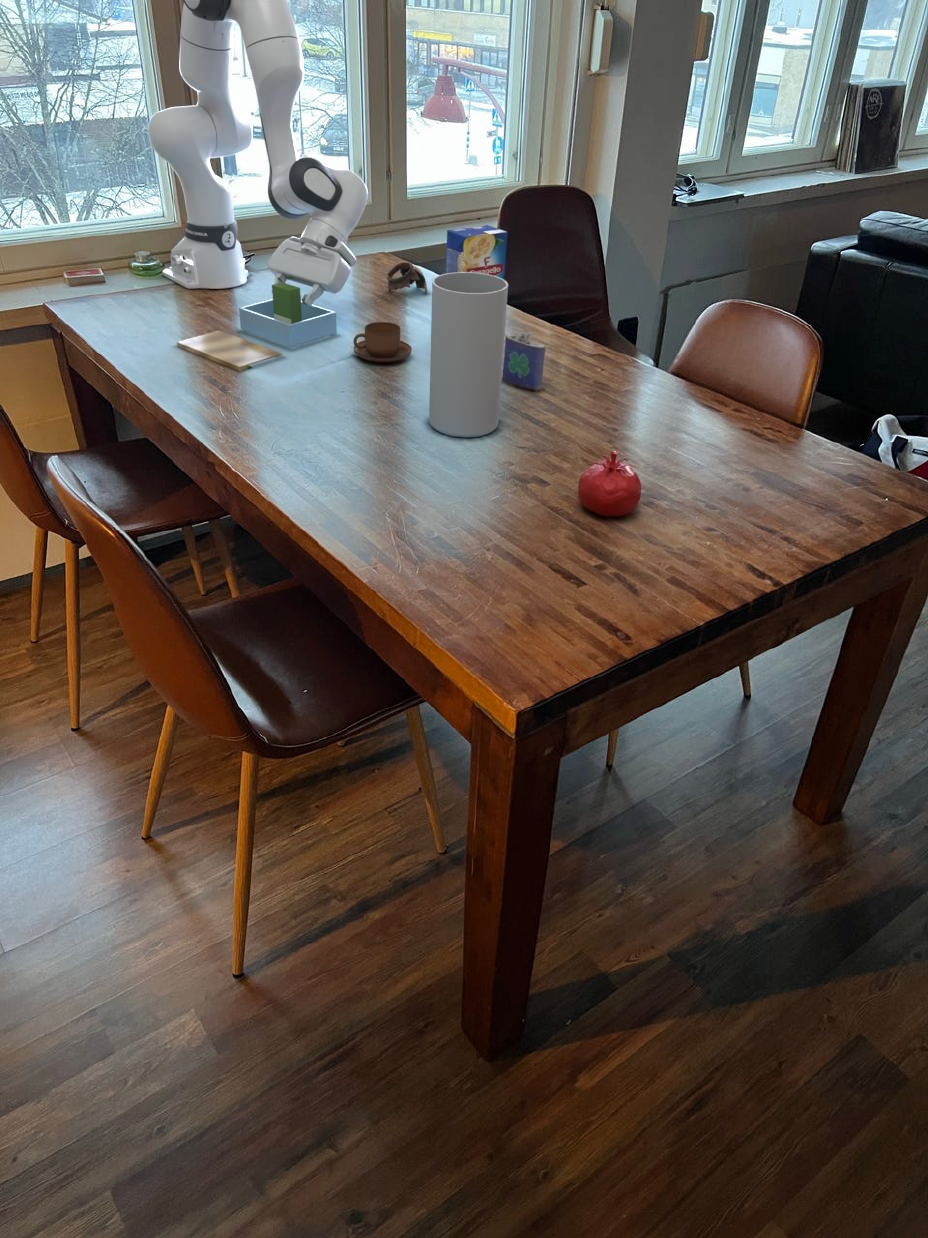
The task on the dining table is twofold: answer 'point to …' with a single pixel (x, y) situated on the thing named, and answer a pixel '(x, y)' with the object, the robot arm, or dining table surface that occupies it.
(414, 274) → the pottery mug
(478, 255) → the blue food box
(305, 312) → the basin
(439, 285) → the cylinder vase
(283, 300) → the block
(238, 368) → the board
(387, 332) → the cup and saucer
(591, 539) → the dining table surface
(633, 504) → the pomegranate
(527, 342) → the flask
